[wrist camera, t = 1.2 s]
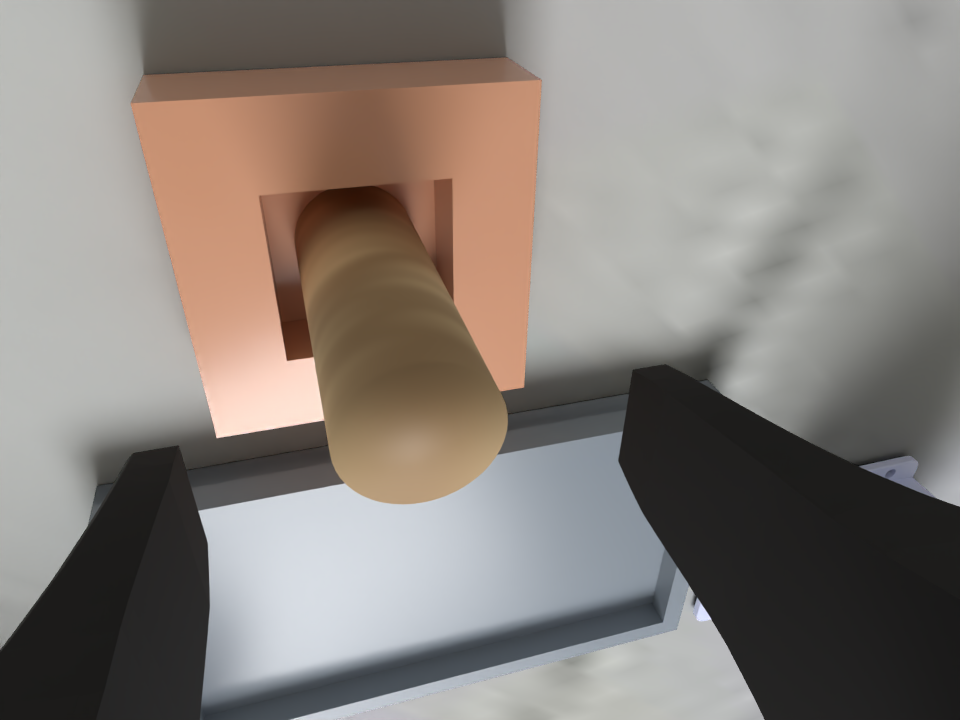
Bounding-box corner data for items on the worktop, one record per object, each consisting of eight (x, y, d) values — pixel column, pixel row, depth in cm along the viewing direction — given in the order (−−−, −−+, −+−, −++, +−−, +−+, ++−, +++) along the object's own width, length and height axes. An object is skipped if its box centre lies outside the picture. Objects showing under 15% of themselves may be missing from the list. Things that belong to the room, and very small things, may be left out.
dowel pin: (410, 178, 18) (511, 348, 11) (415, 285, 19) (505, 486, 13) (286, 189, 17) (318, 376, 10) (302, 299, 19) (338, 519, 12)
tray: (707, 379, 25) (736, 410, 24) (656, 595, 32) (676, 629, 30) (96, 486, 20) (86, 531, 19) (188, 712, 27) (185, 759, 26)
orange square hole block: (507, 57, 17) (541, 80, 15) (498, 342, 22) (523, 387, 20) (143, 74, 15) (130, 103, 13) (218, 384, 20) (217, 438, 18)
